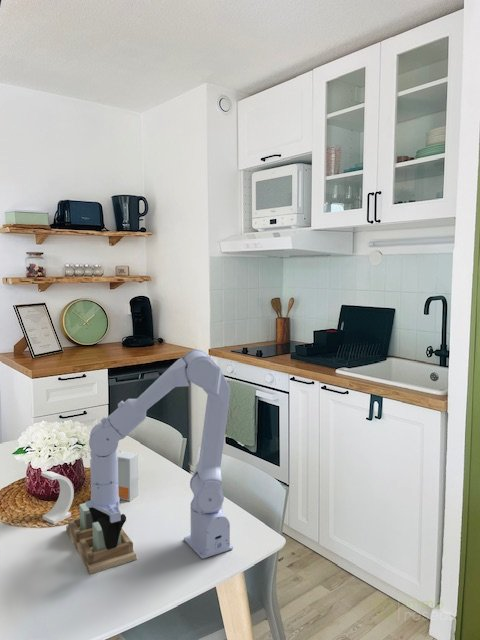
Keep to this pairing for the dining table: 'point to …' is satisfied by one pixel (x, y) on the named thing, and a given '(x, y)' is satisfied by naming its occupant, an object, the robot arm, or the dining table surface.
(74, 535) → the compartment tray
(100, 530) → the finger block
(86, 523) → the seated block
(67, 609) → the dining table surface
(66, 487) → the headphone stand
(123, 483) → the skincare box
